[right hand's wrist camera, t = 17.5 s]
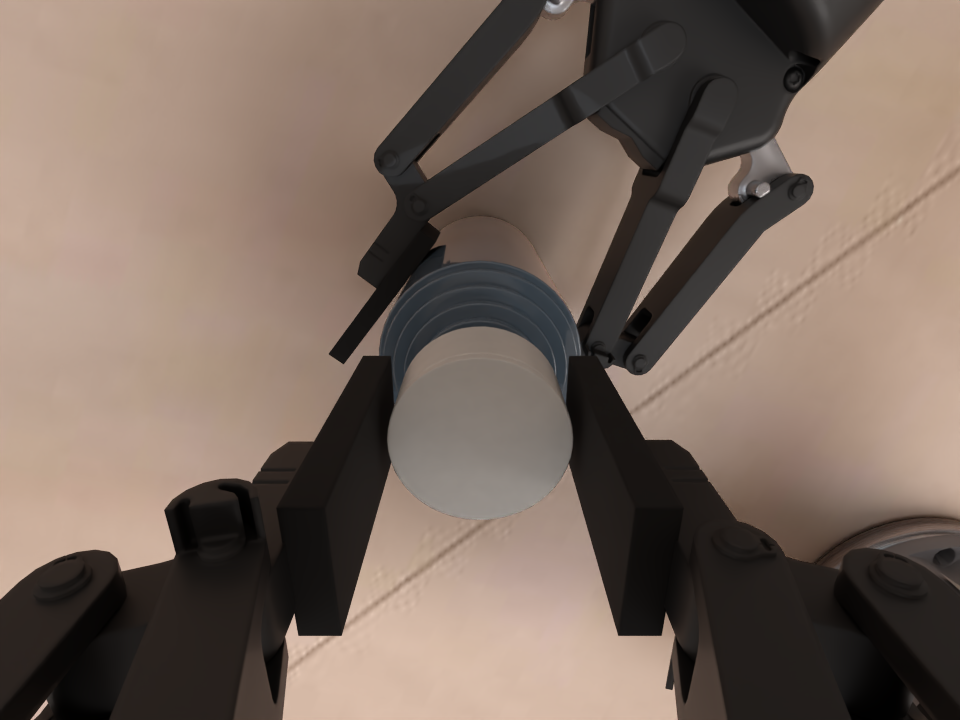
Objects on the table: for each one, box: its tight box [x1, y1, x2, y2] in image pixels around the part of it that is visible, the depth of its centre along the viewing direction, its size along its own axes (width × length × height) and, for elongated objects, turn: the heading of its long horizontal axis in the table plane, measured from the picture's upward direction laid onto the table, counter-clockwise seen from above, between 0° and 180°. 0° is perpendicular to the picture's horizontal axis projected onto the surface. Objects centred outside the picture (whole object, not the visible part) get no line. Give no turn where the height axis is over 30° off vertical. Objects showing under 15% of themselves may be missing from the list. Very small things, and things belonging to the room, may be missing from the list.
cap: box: [387, 327, 573, 520], centre depth 14 cm, size 4×4×2 cm
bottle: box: [379, 216, 581, 404], centre depth 21 cm, size 7×7×17 cm
